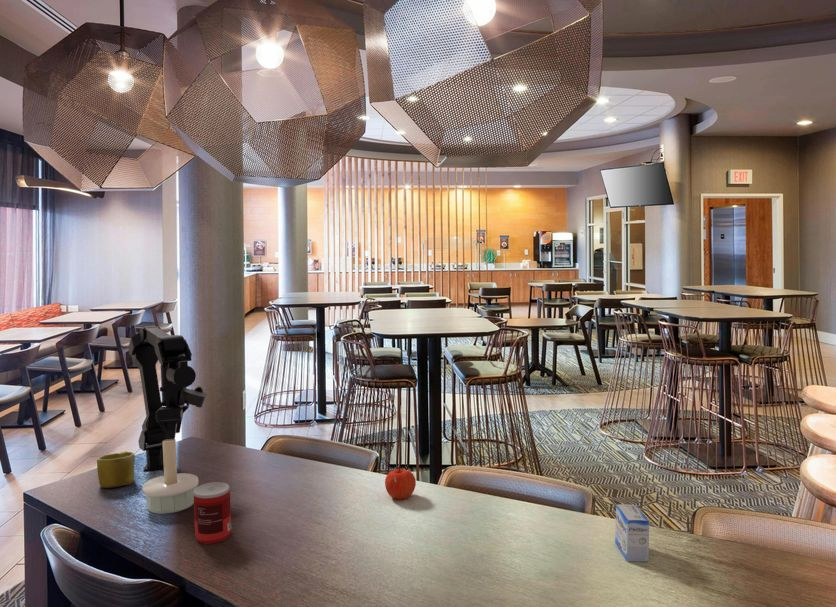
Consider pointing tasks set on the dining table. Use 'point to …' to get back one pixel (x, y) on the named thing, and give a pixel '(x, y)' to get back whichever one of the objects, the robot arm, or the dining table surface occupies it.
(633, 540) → the medicine box
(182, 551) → the dining table surface
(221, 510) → the canned food
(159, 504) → the bowl
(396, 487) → the apple
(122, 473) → the mug
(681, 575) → the dining table surface
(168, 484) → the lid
